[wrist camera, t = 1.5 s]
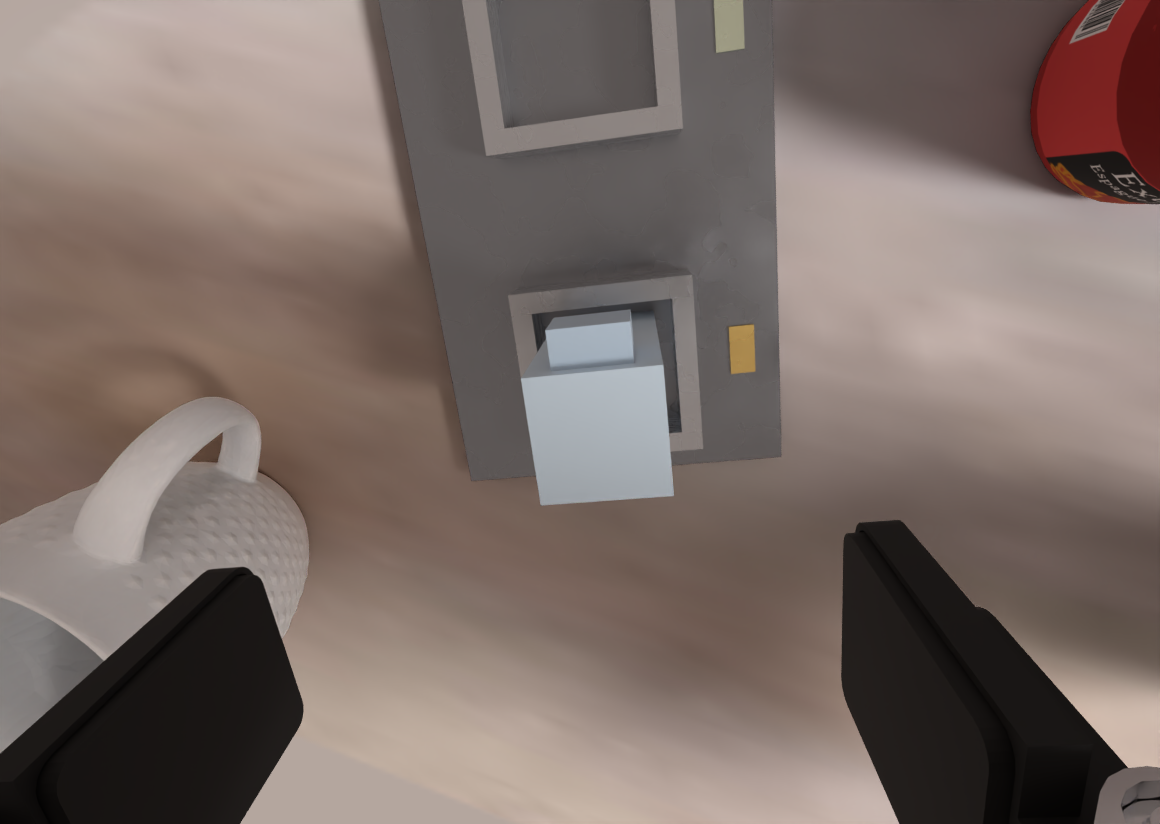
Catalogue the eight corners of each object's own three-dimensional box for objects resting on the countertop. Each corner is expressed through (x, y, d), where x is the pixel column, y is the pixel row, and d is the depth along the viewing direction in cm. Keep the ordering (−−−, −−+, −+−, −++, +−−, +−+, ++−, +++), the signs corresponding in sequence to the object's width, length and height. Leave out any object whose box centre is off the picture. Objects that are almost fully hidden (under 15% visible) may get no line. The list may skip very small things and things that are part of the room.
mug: (181, 313, 28) (-169, 401, 16) (403, 414, 29) (233, 572, 17) (124, 564, 33) (-177, 779, 21) (316, 645, 34) (134, 899, 22)
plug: (660, 402, 27) (674, 496, 18) (569, 410, 27) (540, 505, 19) (650, 280, 25) (659, 321, 17) (553, 291, 26) (514, 336, 17)
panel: (776, 448, 28) (792, 476, 25) (476, 472, 30) (460, 500, 27) (762, -147, 21) (782, -200, 18) (373, -73, 23) (336, -112, 20)
